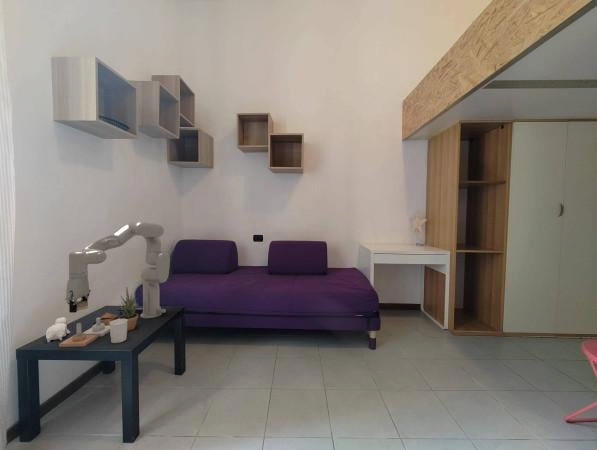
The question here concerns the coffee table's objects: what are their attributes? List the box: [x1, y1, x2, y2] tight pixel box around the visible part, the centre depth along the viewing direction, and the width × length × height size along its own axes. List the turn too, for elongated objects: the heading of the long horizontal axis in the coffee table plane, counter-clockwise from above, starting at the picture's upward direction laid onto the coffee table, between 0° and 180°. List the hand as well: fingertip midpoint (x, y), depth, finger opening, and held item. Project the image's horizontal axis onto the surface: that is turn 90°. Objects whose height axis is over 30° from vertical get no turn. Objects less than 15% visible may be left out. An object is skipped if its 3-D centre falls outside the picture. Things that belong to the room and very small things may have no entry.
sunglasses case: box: [92, 312, 120, 326], centre depth 169 cm, size 18×7×7 cm
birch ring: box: [76, 300, 89, 312], centre depth 141 cm, size 7×7×3 cm
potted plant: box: [118, 286, 139, 332], centre depth 158 cm, size 10×10×25 cm
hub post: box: [58, 322, 99, 348], centre depth 141 cm, size 12×10×10 cm
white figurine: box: [45, 316, 71, 343], centre depth 148 cm, size 9×8×15 cm
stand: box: [83, 316, 110, 337], centre depth 153 cm, size 11×11×8 cm
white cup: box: [109, 318, 128, 344], centre depth 144 cm, size 8×8×10 cm
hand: (78, 309), depth 141 cm, fingers closed on birch ring, 7 cm apart
